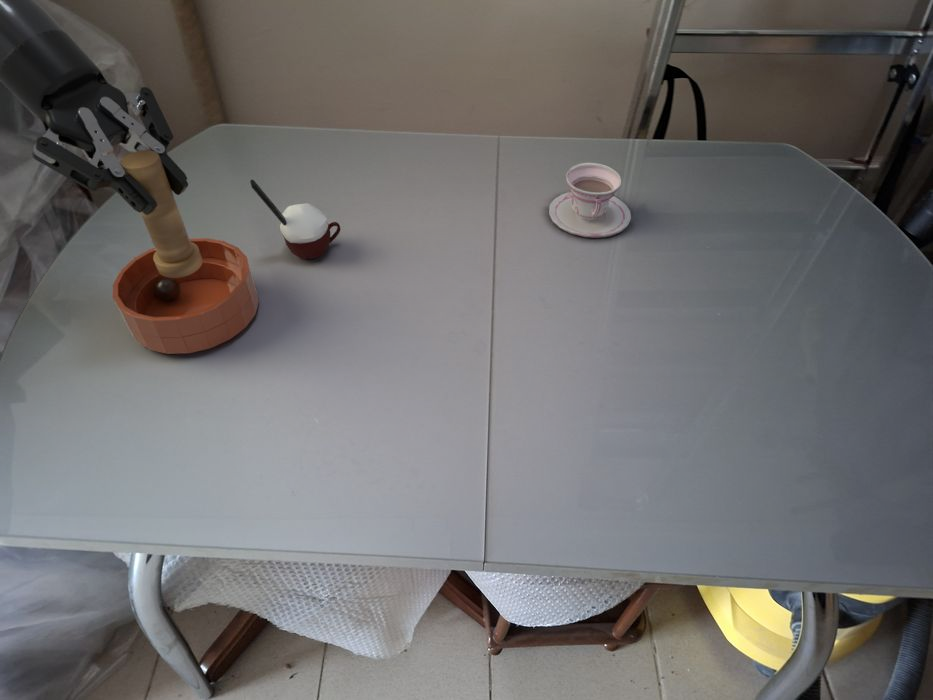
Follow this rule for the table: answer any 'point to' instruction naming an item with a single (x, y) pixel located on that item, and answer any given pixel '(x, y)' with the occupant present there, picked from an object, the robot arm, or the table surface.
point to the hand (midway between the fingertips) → (167, 199)
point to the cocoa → (302, 227)
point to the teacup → (591, 202)
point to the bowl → (188, 300)
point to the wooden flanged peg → (163, 217)
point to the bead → (166, 289)
